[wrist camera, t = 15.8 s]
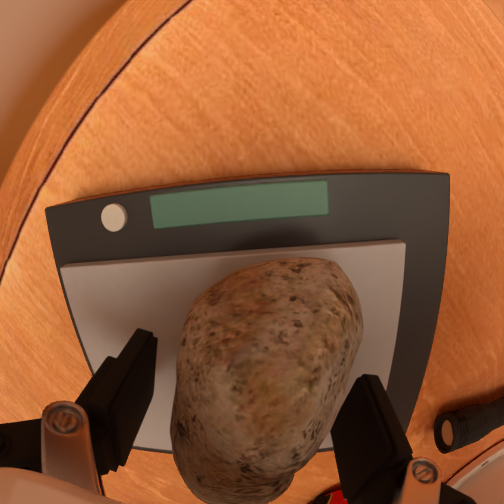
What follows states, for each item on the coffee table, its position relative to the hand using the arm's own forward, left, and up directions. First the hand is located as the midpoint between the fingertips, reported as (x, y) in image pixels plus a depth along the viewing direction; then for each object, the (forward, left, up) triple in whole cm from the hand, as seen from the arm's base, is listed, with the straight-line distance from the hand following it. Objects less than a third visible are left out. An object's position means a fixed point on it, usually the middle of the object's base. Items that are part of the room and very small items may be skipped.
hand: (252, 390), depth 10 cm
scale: (0, 0, -4) cm, 4 cm away
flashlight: (-20, +9, -4) cm, 23 cm away
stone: (+2, -2, +2) cm, 3 cm away
